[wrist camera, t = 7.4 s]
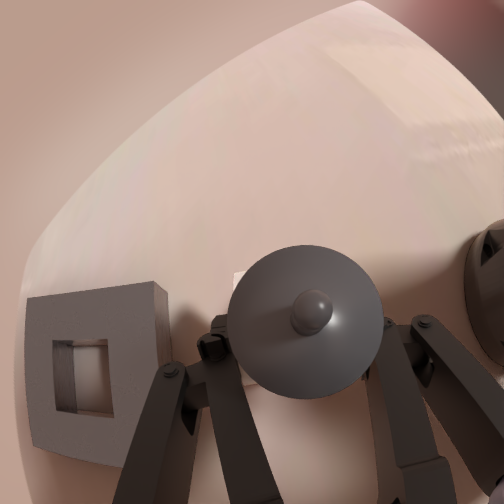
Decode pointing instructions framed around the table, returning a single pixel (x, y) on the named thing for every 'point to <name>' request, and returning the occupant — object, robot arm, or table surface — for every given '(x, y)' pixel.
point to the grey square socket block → (120, 366)
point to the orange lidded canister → (305, 322)
